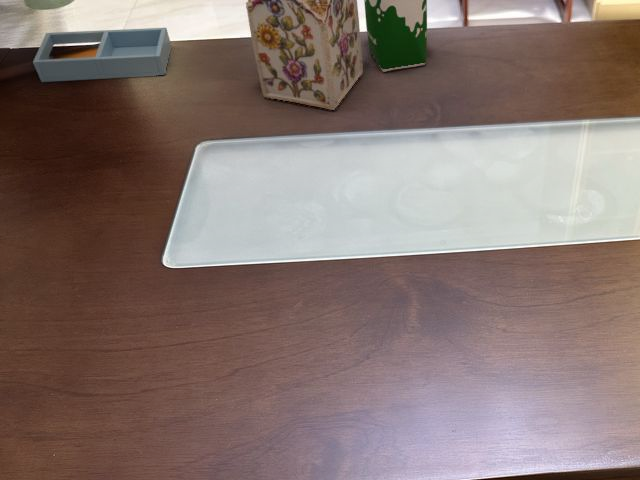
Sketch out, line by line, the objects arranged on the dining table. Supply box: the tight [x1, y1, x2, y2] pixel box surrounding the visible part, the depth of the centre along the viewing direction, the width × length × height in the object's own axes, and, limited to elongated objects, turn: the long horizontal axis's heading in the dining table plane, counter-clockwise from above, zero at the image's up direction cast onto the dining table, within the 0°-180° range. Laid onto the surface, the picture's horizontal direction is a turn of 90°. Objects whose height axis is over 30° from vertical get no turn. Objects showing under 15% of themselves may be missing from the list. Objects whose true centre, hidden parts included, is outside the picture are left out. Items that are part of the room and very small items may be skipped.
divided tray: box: [32, 27, 173, 83], centre depth 110 cm, size 18×9×3 cm, turn 99°
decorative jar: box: [245, 0, 364, 109], centre depth 101 cm, size 12×12×18 cm
